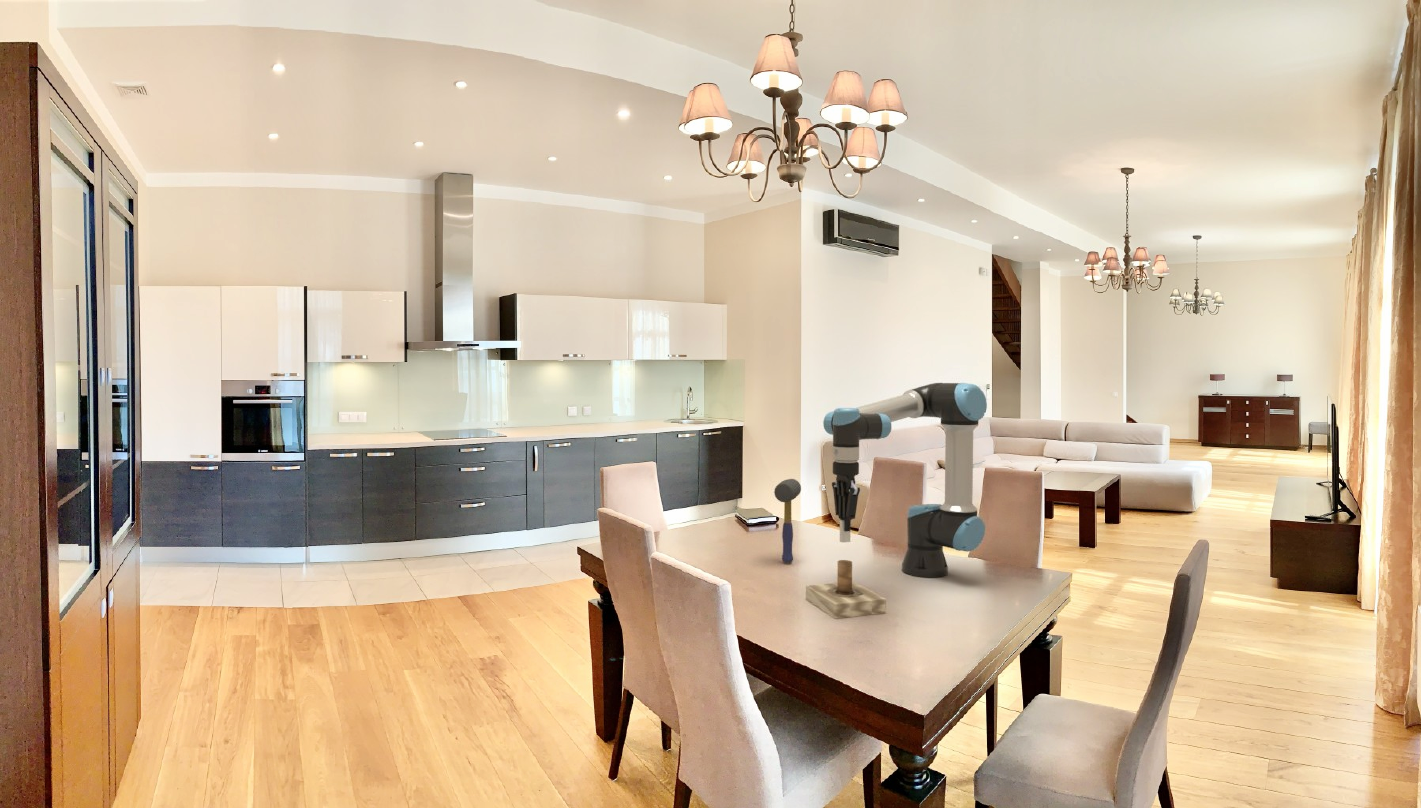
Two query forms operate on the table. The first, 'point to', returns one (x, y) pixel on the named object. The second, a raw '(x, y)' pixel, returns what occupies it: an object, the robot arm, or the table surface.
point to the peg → (844, 577)
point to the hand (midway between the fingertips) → (844, 541)
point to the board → (845, 600)
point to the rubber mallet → (787, 514)
